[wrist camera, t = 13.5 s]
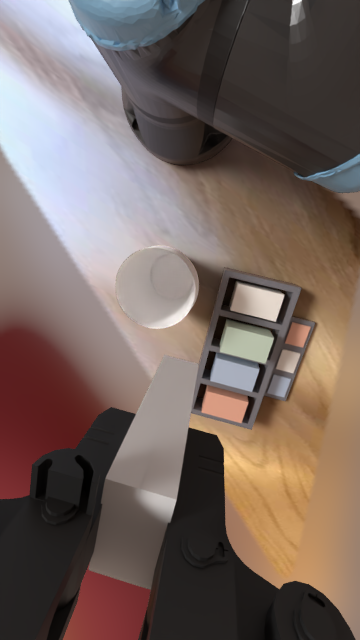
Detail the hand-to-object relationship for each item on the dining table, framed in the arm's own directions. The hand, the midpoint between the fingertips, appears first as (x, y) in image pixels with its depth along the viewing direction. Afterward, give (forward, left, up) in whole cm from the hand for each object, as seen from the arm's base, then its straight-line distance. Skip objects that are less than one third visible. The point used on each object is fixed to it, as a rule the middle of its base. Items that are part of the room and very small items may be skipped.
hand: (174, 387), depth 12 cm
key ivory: (0, +7, -29) cm, 30 cm away
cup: (0, -5, -31) cm, 31 cm away
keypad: (+8, +7, -30) cm, 32 cm away
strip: (+8, +14, -30) cm, 35 cm away
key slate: (+11, +7, -29) cm, 32 cm away
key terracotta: (+16, +7, -29) cm, 34 cm away
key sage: (+5, +7, -28) cm, 29 cm away
